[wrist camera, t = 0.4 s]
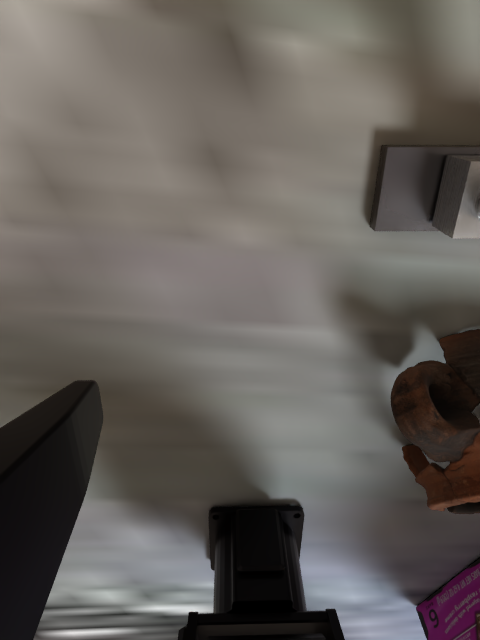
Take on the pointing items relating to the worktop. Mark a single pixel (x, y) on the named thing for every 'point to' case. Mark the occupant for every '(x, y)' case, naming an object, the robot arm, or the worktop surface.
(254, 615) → the robot arm
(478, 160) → the handle
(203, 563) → the worktop surface
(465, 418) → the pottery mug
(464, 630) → the candy bar box
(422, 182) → the ram track
